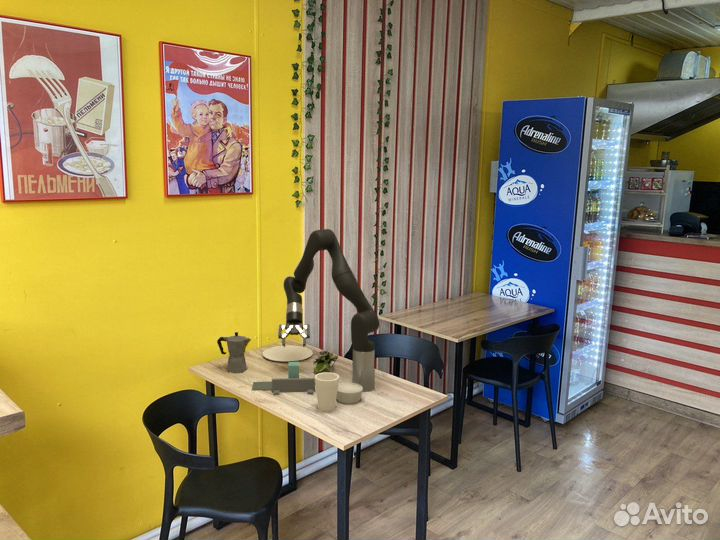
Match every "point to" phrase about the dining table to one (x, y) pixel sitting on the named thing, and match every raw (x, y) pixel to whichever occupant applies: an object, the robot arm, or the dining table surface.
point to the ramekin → (349, 393)
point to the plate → (287, 353)
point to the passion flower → (324, 361)
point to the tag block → (293, 370)
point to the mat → (262, 386)
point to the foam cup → (326, 390)
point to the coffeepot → (235, 352)
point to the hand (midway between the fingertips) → (294, 346)
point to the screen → (293, 385)
